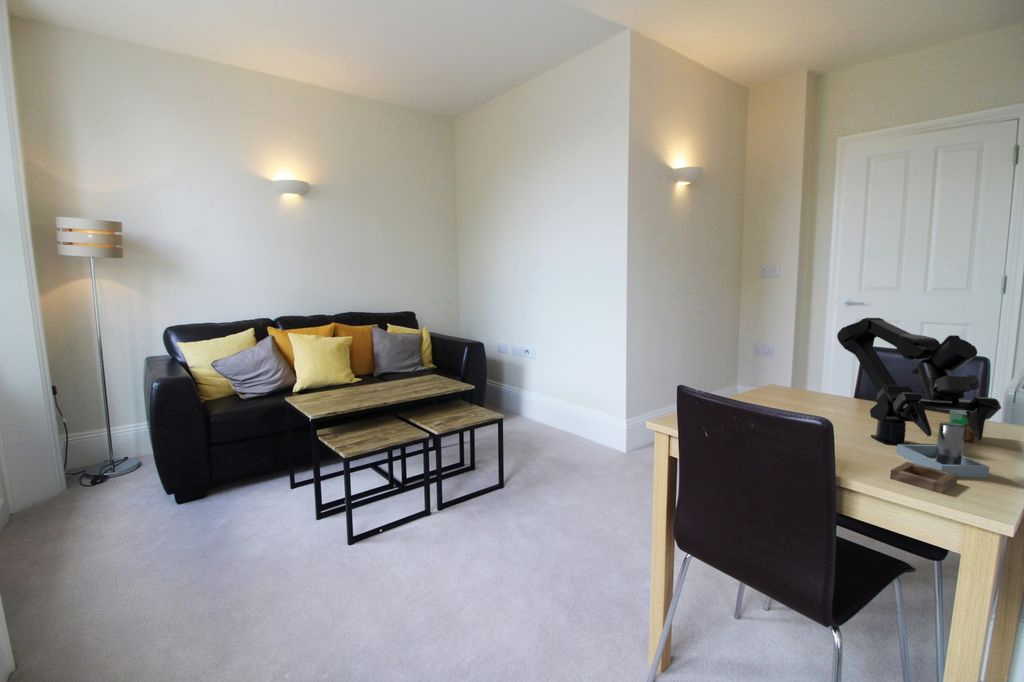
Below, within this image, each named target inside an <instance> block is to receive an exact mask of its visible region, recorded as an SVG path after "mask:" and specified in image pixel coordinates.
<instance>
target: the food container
mask: <svg viewBox="0 0 1024 682" xmlns="http://www.w3.org/2000/svg"><path fill="white" fill-rule="evenodd" d="M971 401H972V400H969V399H959V402H969V403H970V402H971ZM968 418H969V416H967V414H966V411H960V410H949V419H948V421H949V422H950V423H956V424H961V425H964V426H965V435H964V443H967V442H968V444H973V443H974V444H975V442H976V437H975V436H974V434H973V431H972V429H971V427H970V425H969V422H968V420H967V419H968Z"/></svg>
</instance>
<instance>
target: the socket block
mask: <svg viewBox="0 0 1024 682" xmlns="http://www.w3.org/2000/svg"><path fill="white" fill-rule="evenodd" d="M958 478H959V477H958V475H956V474H952V473H948V472H945V471H941V470H937V469H933V468H929V467H926V466H922V465H918V464H915V463H913V462H911V461H910V462H909V461H905V462H904V463H901V464H899V466H898V465H897V466H896V467H894V468H892V469H891V470H890V477H889V479H890V480H893V481H896V482H900V483H904V484H906V485H910V486H913V487H916V488H920V489H924V490H927V491H930V492H935V493H937V494H941V495H943V493H945V492H946V491H948V490H949V489H952V488H953V487H954V486H956V485H957V482H958Z"/></svg>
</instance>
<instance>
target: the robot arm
mask: <svg viewBox="0 0 1024 682" xmlns="http://www.w3.org/2000/svg"><path fill="white" fill-rule="evenodd" d="M836 337H837V340H838V342H839V344H840V345H841V346H842V347H843V348H844V350H846V351H848V352H850V353H852V354H853V355H854V356H855V357H856V360H857V361H858V362H859V363H860V365H861V367H862V369H863V370H864V372H865V373H866V375H867V377H868V378H869V380H870V382H871V383H872V385H873V386H874V388H875V390H876V391H877V395H876V399H875V401H876V404H875V405H873V407H871V408H870V409H869V412H870V417H871V419H872V418H873V419H875V420H876V421H877V426H876V434H871V435H870V437H871V439H874V440H876V439H877V440H876V441H878V440H879V442H880V441H881V442H880V443H882V442H883V443H882V444H884V443H885V445H898V444H904V445H911V444H910V443H911V442H909V441H908V440H907V441H906V440H905V438H906V431H907V430H906V427H907V425H906V424H907V423H909V422H910V423H914V424H915V425H916V426H917V427H918V428H919V429H920V430H921V431H922V432H923V433H925V435H926V436H927V437H931V436H932V428H931V426H930V423H929V419H928V416H927V413H926V408H927V409H936V410H948V411H950V410H960V411H966V414H967V416H969V418H968V419H967V420H968V422H969V425H970V427H971V429H972V431H973V434H974V436H975V440H977V441H979V442H981V440H982V439H983V433H984V427H985V422H986V420H990V419H991V418H992V417H993V416H995V415H996V414H997V413H998V412H999V411H1000V410H1001V409H1002V406H1001V403H1000V401H999V400H998V399H996V398H995V397H982V396H974V398H973V399H972V400H970V401H971V402H970V403H969V402H959V400H960V399H963V398H964V397H965V393H967V392H968V393H969V392H971V391H975V390H977V389H979V388H980V381H979V379H978V377H977V375H973V374H966V375H964V376H959V375H957V376H955V375H951V372H952V371H957V370H959V369H961V368H962V367H963V366H964V365H966V364H967V363H969V362H970V361H971V360H973V359H974V358H976V356H977V355H978V349H977V348H976V346H975V345H973V344H971V342H968V341H967V340H965V339H962V338H960V336H959V335H956V334H955V335H952V334H951V335H950V334H949V335H948V336H947V337H946V338H945V339H944V340H943V341H941V343H940V341H939V340H938V339H936V338H935V337H930V336H927V335H920V334H914V333H911V332H908V331H907V330H904V329H902V328H900V327H898V326H896V325H894V324H891V323H890V322H888V321H885V319H883V318H881V317H865V318H862V319H860V320H859V321H857V322H854V323H852V324H847V325H846V326H843V327H842V328H841V329H839V330H838V332H837V336H836ZM876 338H879V339H881V340H882V341H884V342H887V343H889V344H890V345H892V346H894V347H895V348H896V352H897V353H898V354H899V355H900V356H901V357H903V358H904V359H905V360H908V361H911V360H912V361H914V360H915V361H920V362H919V363H916V364H915V366H914V367H913V368H912V371H911V373H912V374H913V375H919V378H920V381H921V384H922V387H921V389H920V391H921V393H922V394H924V395H925V397H926V398H923V397H922V394H920V393H918V392H913V389H912V388H911V387H910V386H908V385H907V386H905V385H904V386H903V385H899V384H898V383H897V382H896V380H895V378H894V377H893V376H892V374H891V373H890V371H889V369H888V368H887V366H886V365H885V363H884V362H883V360H882V359H881V357H880V355H879V354H878V353H877V351H876V349H875V348H874V343H875V339H876ZM950 371H951V372H950ZM906 422H907V423H906Z"/></svg>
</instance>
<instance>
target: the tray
mask: <svg viewBox="0 0 1024 682" xmlns="http://www.w3.org/2000/svg"><path fill="white" fill-rule="evenodd" d="M896 447H897V448H896V455H898V456H900V457H902V458H903V459H906V460H908V462H909V461H910V463H914V464H918V465H922V466H926V467H929V468H933V469H937V470H941V471H945V472H948V473H952V474H956V475H958V477H957V478H978V479H979V478H983V479H985V478H986V479H988V478H989V474H990V473H989V472H990V466H988V465H986V464H984V463H981V462H979V461H977V460H975V459H972V458H969V457H967V456H965V455H963V454H962V461H961V465H944V464H941V463H939V462H937V461H936V459H933V458H930V457H936V453H937V445H936V444H909V445H907V444H897V446H896Z"/></svg>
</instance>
